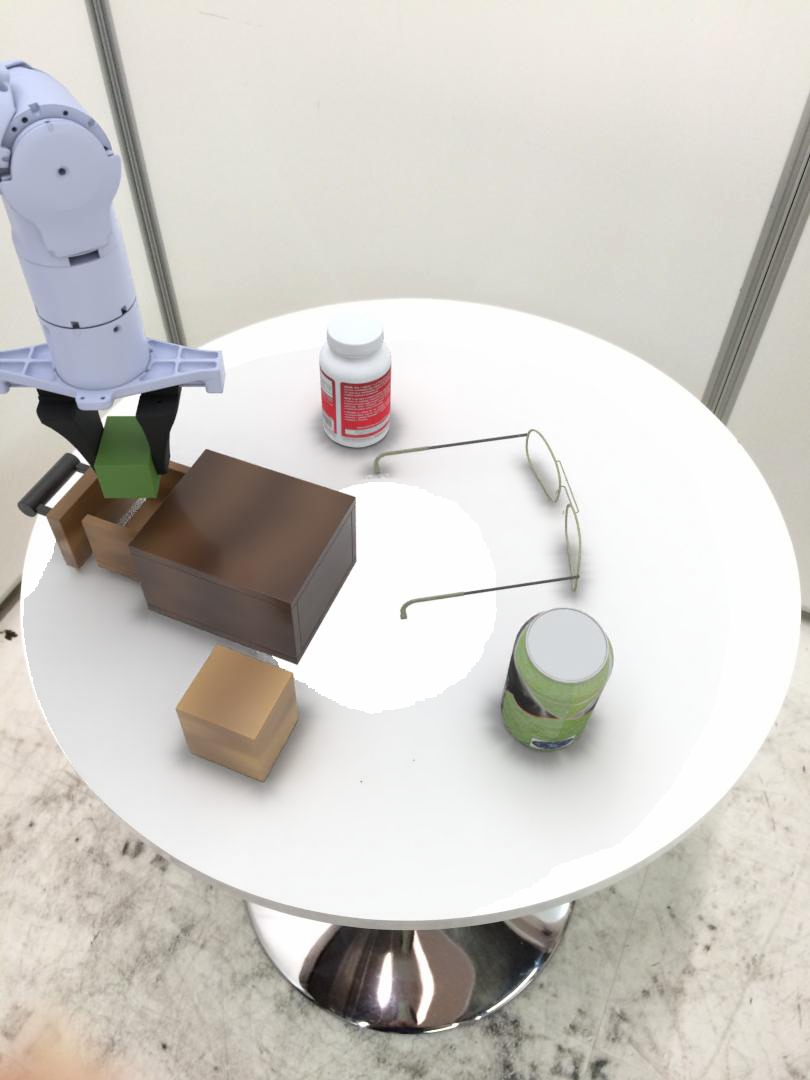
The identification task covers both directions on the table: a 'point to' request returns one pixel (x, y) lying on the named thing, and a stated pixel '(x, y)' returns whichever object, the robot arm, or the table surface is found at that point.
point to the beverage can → (555, 677)
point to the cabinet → (247, 554)
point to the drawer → (93, 514)
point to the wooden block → (239, 712)
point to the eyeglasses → (377, 469)
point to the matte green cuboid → (125, 460)
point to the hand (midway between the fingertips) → (133, 465)
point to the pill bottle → (355, 380)
